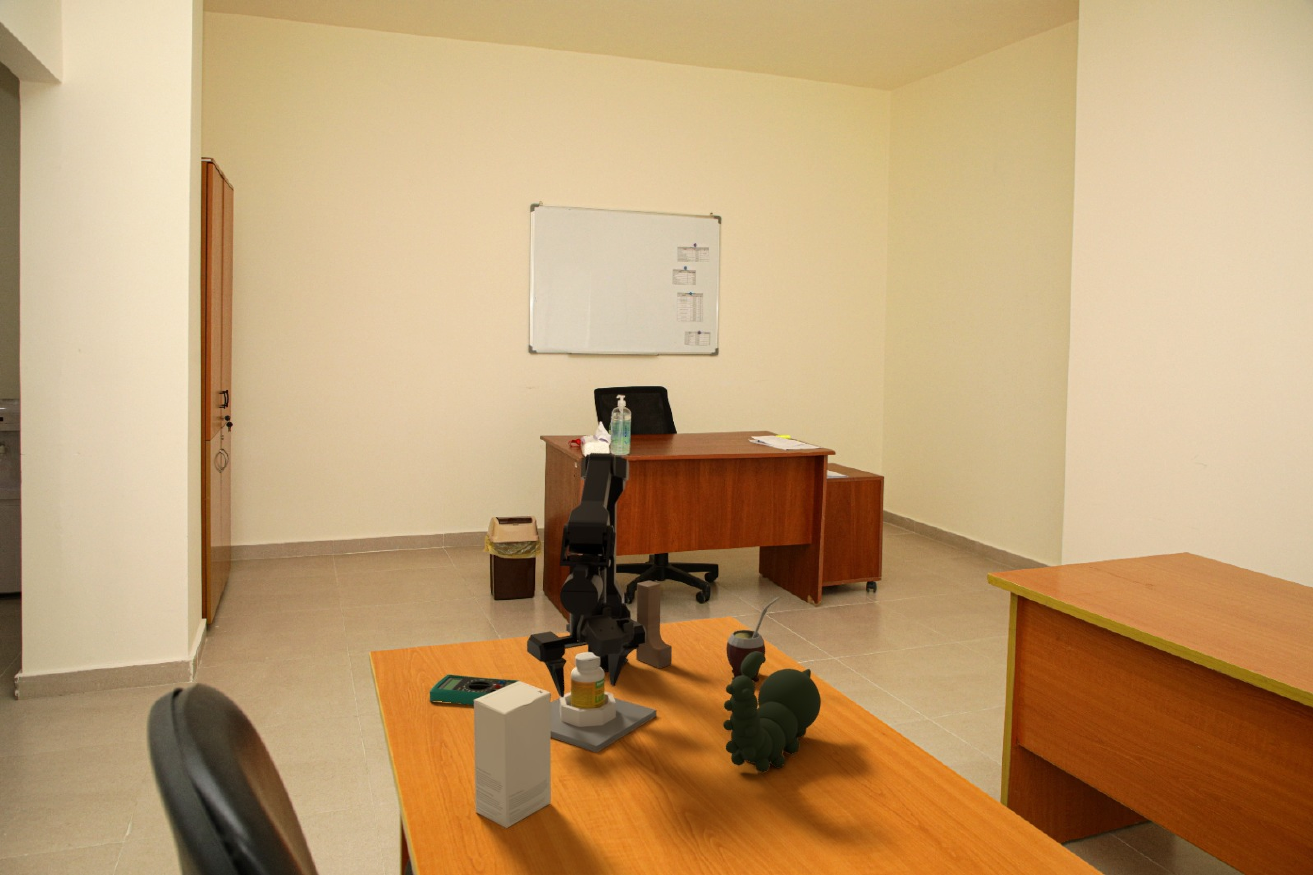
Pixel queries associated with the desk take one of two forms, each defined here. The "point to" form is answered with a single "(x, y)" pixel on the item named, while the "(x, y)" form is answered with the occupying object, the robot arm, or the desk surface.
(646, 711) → the ring holder
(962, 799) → the desk surface
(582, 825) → the desk surface
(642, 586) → the wooden block
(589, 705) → the supplement bottle
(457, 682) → the digital multimeter
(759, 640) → the mate gourd
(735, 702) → the toy figurine
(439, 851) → the desk surface
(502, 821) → the skincare box
